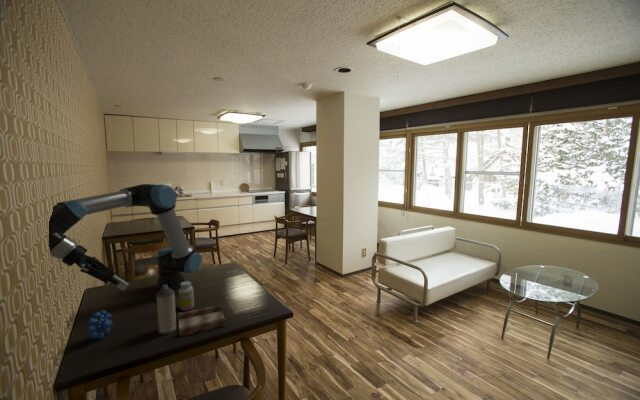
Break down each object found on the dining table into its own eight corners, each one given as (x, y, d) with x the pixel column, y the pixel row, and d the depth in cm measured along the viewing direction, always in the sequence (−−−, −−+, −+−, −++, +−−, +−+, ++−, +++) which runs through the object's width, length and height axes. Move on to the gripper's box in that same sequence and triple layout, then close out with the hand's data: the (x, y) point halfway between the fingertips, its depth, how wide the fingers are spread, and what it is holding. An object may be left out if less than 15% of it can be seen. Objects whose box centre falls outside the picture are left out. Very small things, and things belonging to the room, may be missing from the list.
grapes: (98, 347, 112) (96, 318, 111) (82, 346, 113) (80, 317, 112) (121, 330, 124) (119, 304, 123) (107, 330, 124) (105, 303, 123)
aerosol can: (172, 324, 129) (170, 281, 127) (179, 329, 125) (176, 285, 123) (156, 330, 124) (153, 285, 122) (162, 336, 120) (159, 290, 118)
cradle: (179, 336, 120) (178, 330, 119) (178, 318, 134) (178, 313, 134) (226, 325, 128) (226, 319, 128) (221, 309, 142) (221, 304, 142)
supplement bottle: (182, 304, 148) (181, 280, 147) (196, 304, 148) (194, 280, 147) (177, 310, 141) (176, 285, 140) (191, 310, 142) (190, 285, 140)
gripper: (66, 255, 112) (121, 288, 121) (54, 265, 100) (115, 301, 109) (82, 240, 113) (135, 274, 123) (72, 248, 102) (131, 285, 111)
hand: (125, 287), depth 116 cm, fingers closed
